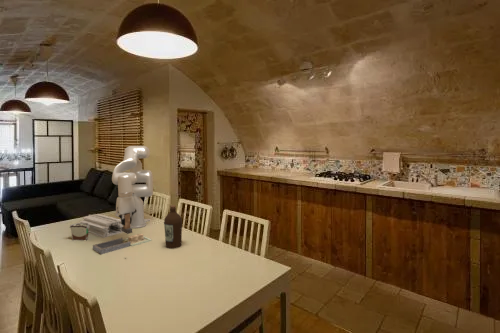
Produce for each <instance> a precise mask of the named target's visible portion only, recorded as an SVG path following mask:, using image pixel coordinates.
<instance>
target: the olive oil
mask: <svg viewBox="0 0 500 333" xmlns="http://www.w3.org/2000/svg"><path fill="white" fill-rule="evenodd" d="M169 207H170V208H169V213H168V214H167V215H166V216H165V218H164V219H163V225H164V238H165V248H167V249H178V248H180V247H181V246H182V243H183V242H182V240H183V239H182V236H183V235H182V234H183V233H182V232H183V231H182V230H183V219H182V217H181V215H180V214H179V213H178V212H177V209H176V205H174V204H172V205H170V206H169Z"/></svg>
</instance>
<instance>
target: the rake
mask: <svg viewBox="0 0 500 333" xmlns="http://www.w3.org/2000/svg"><path fill="white" fill-rule="evenodd" d="M124 219H125V225H123V227H121V228H122V233H125V234H126V235H129V234H132V233H133V228H130V214H129V213H126V214H124Z"/></svg>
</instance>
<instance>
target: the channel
mask: <svg viewBox="0 0 500 333" xmlns="http://www.w3.org/2000/svg"><path fill="white" fill-rule="evenodd" d="M123 239H124V238H123V237H118V238H115V239H111V240H107V241H103V242H100V243H96V244H95V243H94V244H93V245H92V251H94V252H96V253H98V254H99V255H104V254H108V253H112V252H115V251H118V250H122V249H125V248H128V247H132V246H131V244H132V243H131V242H130V241H129V242H128V241H127V242H125V241H123Z"/></svg>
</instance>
